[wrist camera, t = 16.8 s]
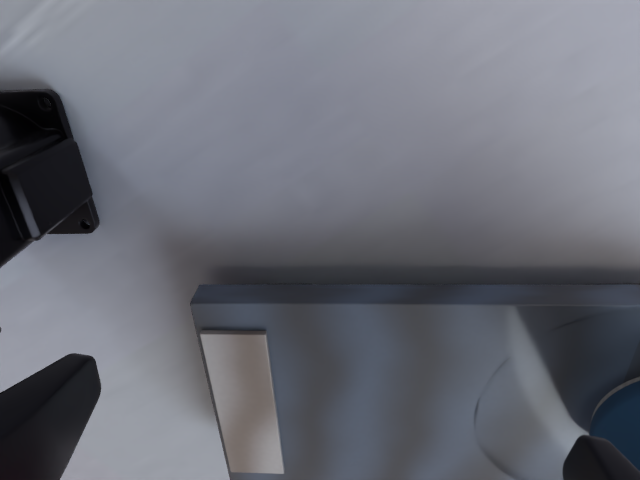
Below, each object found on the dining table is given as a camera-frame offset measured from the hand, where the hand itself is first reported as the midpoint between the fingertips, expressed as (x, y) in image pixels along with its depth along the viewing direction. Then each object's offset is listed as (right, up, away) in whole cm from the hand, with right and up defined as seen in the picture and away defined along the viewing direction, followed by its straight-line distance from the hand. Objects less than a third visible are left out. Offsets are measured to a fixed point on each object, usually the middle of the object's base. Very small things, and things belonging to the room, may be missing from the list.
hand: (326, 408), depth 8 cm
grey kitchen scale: (+8, -4, +16) cm, 18 cm away
